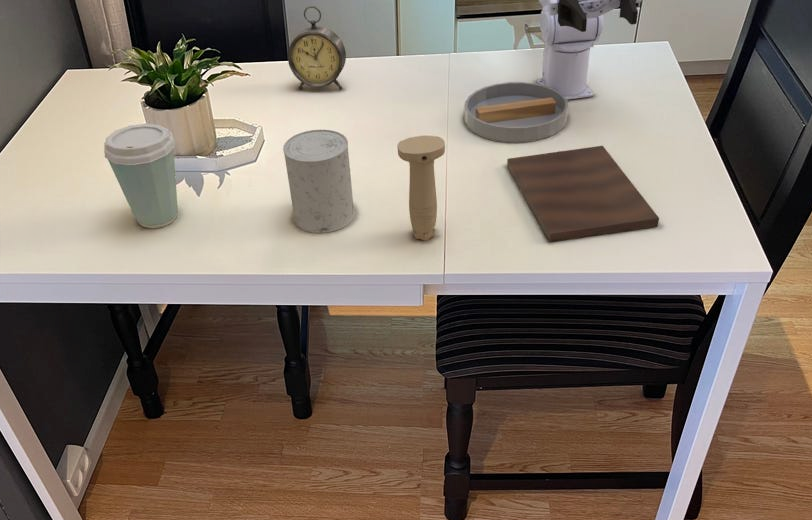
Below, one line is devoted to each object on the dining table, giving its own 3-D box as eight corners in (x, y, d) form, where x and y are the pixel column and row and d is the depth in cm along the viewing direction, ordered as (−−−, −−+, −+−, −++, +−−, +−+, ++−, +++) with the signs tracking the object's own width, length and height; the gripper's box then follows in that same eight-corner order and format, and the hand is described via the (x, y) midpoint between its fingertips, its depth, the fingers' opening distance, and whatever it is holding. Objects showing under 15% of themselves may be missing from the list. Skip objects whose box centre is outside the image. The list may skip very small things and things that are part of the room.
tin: (454, 103, 149) (454, 89, 147) (548, 90, 149) (549, 76, 148) (478, 148, 135) (478, 133, 133) (581, 134, 136) (582, 119, 134)
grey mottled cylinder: (333, 239, 118) (324, 167, 110) (281, 223, 122) (269, 153, 114) (366, 207, 124) (360, 136, 116) (316, 193, 128) (307, 124, 120)
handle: (448, 241, 115) (447, 150, 105) (404, 247, 115) (400, 156, 105) (442, 223, 118) (441, 133, 109) (400, 229, 118) (395, 139, 109)
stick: (475, 118, 142) (475, 107, 141) (551, 108, 143) (552, 97, 142) (478, 124, 141) (478, 112, 139) (555, 113, 141) (556, 102, 140)
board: (506, 166, 130) (507, 158, 129) (601, 153, 130) (602, 145, 129) (549, 242, 113) (549, 233, 112) (657, 226, 113) (659, 218, 112)
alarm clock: (291, 92, 158) (280, 11, 148) (299, 80, 162) (288, 0, 152) (344, 93, 156) (336, 11, 145) (350, 81, 160) (343, 0, 149)
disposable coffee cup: (135, 201, 131) (110, 118, 121) (199, 198, 130) (178, 114, 120) (119, 238, 123) (90, 152, 113) (186, 235, 122) (164, 148, 112)
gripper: (542, -31, 128) (563, 3, 118) (632, -44, 127) (660, -12, 118) (541, 12, 133) (560, 47, 123) (628, -1, 132) (654, 33, 122)
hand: (609, 21), depth 121 cm, fingers open, 7 cm apart
